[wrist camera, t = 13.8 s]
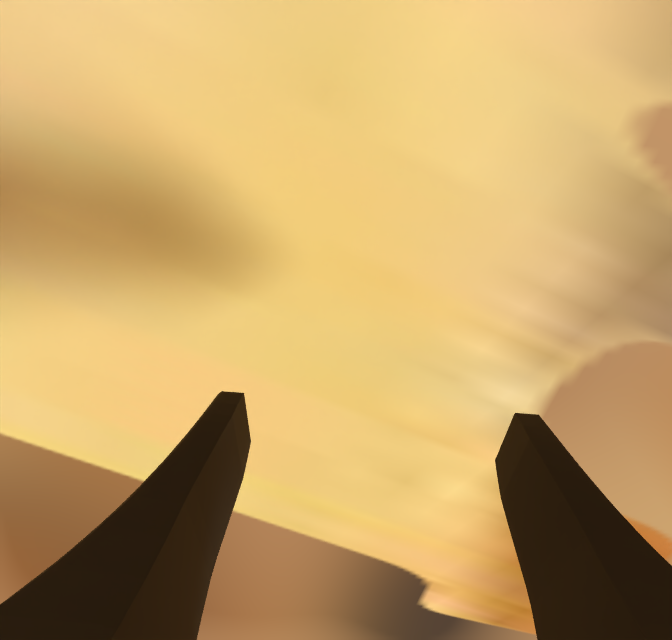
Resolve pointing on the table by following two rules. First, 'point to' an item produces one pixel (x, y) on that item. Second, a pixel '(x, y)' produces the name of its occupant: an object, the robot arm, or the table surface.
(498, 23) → the table surface
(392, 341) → the table surface
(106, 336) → the table surface
